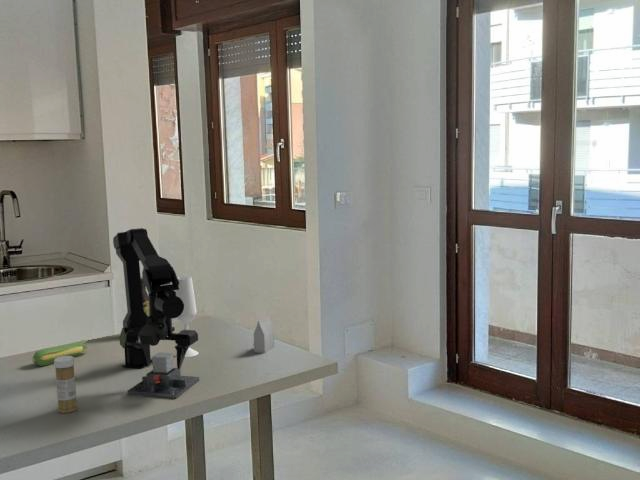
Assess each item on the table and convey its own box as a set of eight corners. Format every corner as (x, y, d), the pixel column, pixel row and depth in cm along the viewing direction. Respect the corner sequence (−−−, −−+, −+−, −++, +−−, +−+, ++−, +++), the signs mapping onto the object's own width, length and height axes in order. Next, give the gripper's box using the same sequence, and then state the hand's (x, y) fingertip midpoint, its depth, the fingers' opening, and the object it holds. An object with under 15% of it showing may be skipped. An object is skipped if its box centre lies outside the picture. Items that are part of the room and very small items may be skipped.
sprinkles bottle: (71, 405, 179) (68, 353, 177) (81, 409, 176) (77, 357, 174) (54, 410, 176) (50, 358, 174) (63, 415, 173) (59, 361, 171)
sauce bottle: (146, 337, 240) (143, 279, 237) (129, 337, 241) (126, 279, 238) (154, 332, 246) (151, 275, 243) (138, 331, 247) (134, 275, 244)
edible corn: (27, 352, 211) (35, 350, 208) (85, 338, 227) (93, 337, 224) (30, 369, 211) (38, 368, 208) (89, 354, 227) (97, 353, 224)
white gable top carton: (274, 347, 226) (273, 316, 224) (264, 353, 220) (263, 321, 218) (264, 346, 227) (263, 315, 226) (254, 352, 221) (253, 320, 220)
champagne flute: (194, 357, 217) (190, 280, 213) (173, 356, 218) (169, 279, 214) (201, 350, 223) (198, 275, 220) (181, 350, 224) (177, 275, 221)
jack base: (127, 394, 186) (126, 377, 186) (153, 376, 200) (152, 361, 199) (176, 398, 183) (175, 381, 182) (199, 380, 196) (198, 364, 195)
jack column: (153, 385, 189) (151, 356, 188) (160, 379, 193) (159, 352, 192) (167, 386, 188) (166, 357, 187) (174, 380, 192) (173, 353, 191)
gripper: (112, 316, 183) (116, 374, 185) (178, 319, 178) (181, 379, 180) (134, 306, 193) (137, 361, 196) (197, 309, 189) (200, 366, 191)
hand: (163, 367), depth 190 cm, fingers open, 9 cm apart
